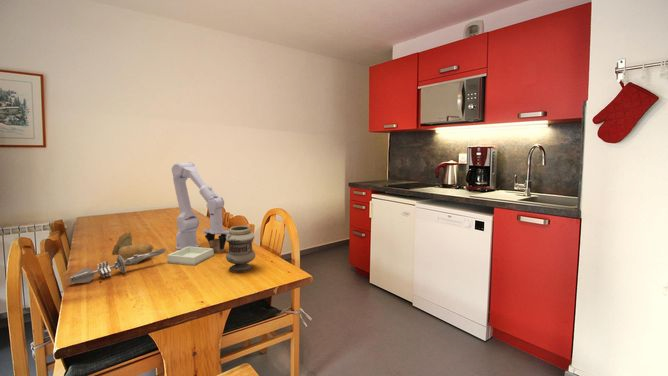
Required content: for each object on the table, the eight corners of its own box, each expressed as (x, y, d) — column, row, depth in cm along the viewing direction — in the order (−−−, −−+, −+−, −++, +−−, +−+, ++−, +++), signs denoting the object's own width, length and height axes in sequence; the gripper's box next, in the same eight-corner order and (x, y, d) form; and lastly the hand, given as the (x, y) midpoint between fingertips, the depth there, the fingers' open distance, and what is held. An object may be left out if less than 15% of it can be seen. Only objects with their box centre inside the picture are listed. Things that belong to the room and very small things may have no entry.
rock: (113, 252, 154) (135, 245, 161) (107, 237, 156) (130, 231, 163) (112, 260, 162) (134, 253, 168) (107, 245, 164) (129, 239, 170)
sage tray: (167, 262, 146) (167, 255, 146) (188, 253, 160) (188, 246, 159) (194, 265, 143) (193, 257, 142) (213, 255, 156) (213, 248, 156)
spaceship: (169, 247, 143) (161, 238, 147) (70, 278, 117) (64, 266, 121) (169, 261, 146) (161, 251, 150) (73, 295, 120) (66, 282, 124)
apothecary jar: (225, 275, 132) (224, 231, 130) (227, 265, 143) (225, 225, 141) (256, 272, 135) (255, 230, 133) (255, 262, 146) (254, 223, 144)
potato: (157, 259, 150) (156, 242, 149) (123, 268, 140) (121, 249, 139) (148, 255, 157) (147, 239, 156) (115, 263, 146) (113, 245, 145)
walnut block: (210, 252, 161) (209, 241, 160) (216, 249, 165) (215, 238, 165) (218, 253, 159) (218, 241, 159) (224, 250, 164) (224, 239, 163)
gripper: (198, 222, 159) (199, 249, 160) (224, 224, 155) (225, 252, 156) (207, 219, 165) (208, 245, 167) (232, 221, 162) (233, 247, 163)
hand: (217, 248), depth 162 cm, fingers open, 5 cm apart
